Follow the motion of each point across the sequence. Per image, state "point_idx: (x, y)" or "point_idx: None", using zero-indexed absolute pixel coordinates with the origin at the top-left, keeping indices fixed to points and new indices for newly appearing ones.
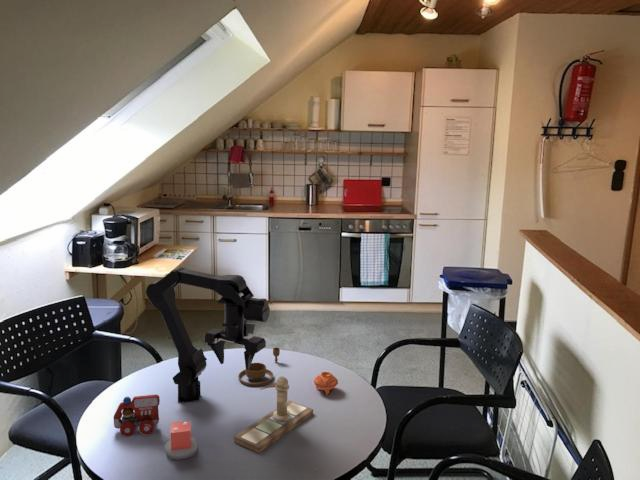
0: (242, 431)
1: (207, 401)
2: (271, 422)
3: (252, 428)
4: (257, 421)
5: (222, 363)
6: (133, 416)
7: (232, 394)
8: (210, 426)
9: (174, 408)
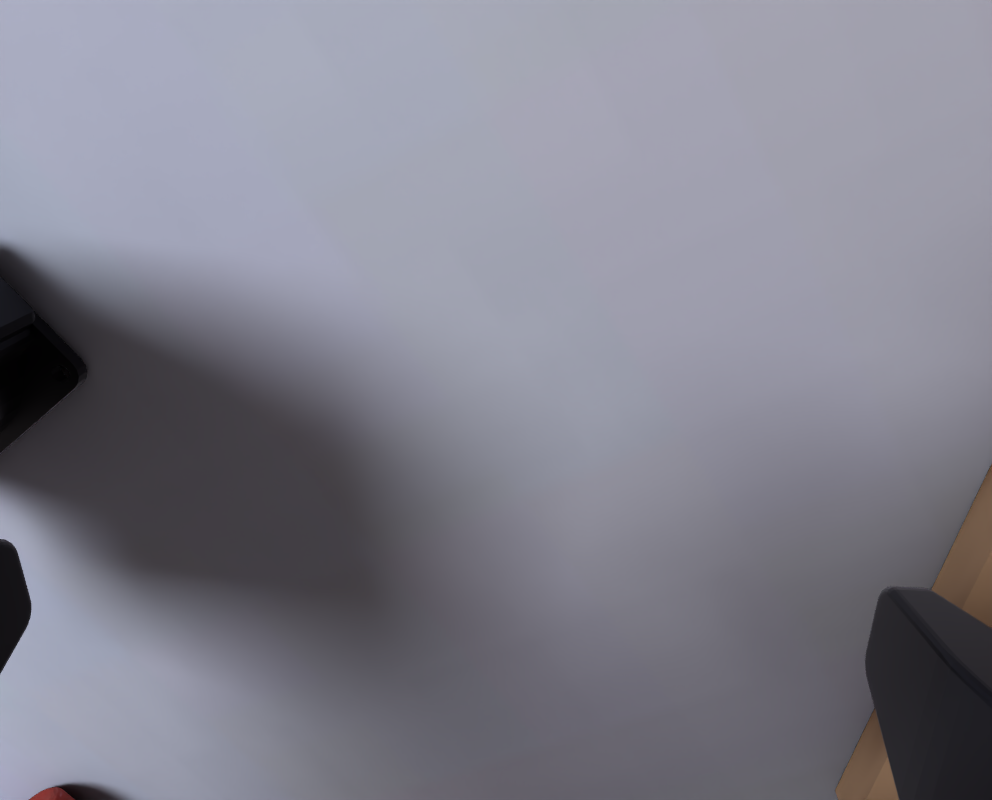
0: None
1: (172, 330)
2: None
3: None
4: (983, 569)
5: (20, 592)
6: None
7: (308, 27)
8: (516, 685)
9: None
